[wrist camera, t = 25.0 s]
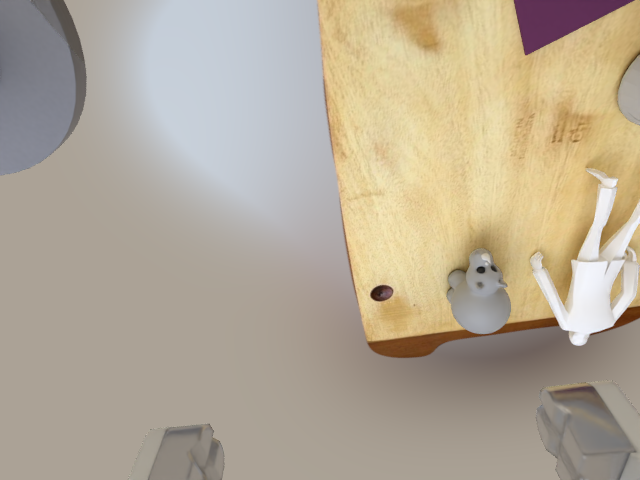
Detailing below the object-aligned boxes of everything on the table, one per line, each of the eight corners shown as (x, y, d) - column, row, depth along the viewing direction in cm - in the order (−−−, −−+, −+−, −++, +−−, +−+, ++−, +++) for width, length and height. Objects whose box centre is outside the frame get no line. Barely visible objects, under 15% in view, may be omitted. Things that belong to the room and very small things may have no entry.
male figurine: (546, 164, 48) (513, 327, 60) (577, 183, 43) (534, 357, 55) (662, 155, 48) (606, 320, 60) (707, 172, 43) (635, 350, 55)
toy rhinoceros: (504, 228, 51) (535, 273, 45) (489, 295, 59) (514, 343, 52) (447, 234, 52) (469, 280, 45) (439, 300, 59) (457, 348, 52)
